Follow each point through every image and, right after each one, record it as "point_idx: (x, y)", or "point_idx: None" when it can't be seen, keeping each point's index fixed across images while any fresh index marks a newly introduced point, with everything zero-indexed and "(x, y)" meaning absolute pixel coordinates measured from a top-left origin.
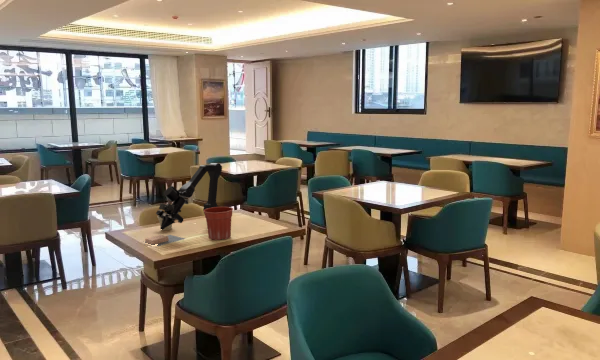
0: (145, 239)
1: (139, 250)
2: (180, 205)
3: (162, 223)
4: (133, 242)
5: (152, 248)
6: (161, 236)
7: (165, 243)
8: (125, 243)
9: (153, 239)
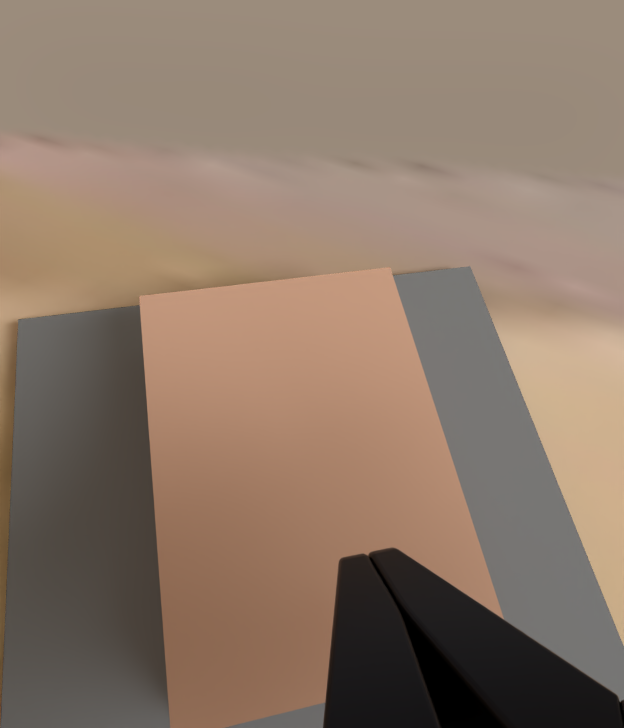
0: (377, 277)
1: (125, 164)
2: None
3: (502, 693)
4: (590, 255)
5: (54, 304)
6: (314, 579)
7: (62, 567)
8: (594, 180)
9: (202, 341)
